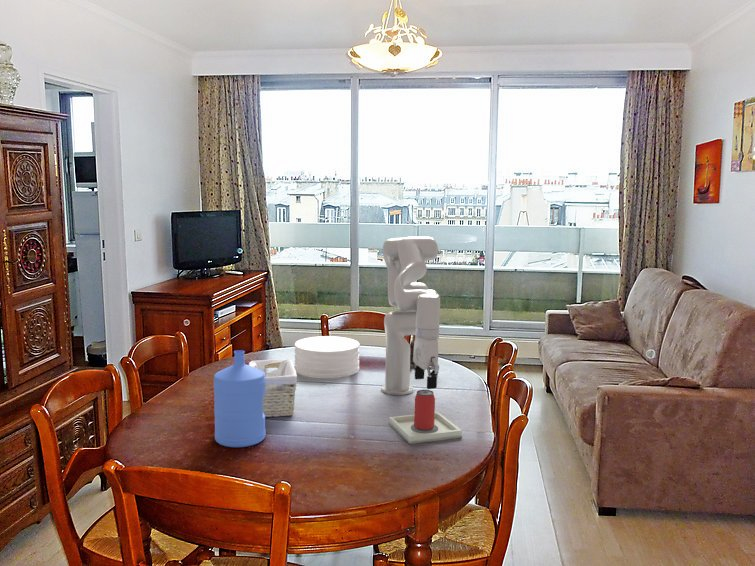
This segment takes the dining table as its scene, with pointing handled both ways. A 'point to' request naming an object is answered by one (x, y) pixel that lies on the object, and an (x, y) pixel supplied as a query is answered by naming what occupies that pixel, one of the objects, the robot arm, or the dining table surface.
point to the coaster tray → (413, 435)
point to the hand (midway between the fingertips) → (425, 383)
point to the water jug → (239, 404)
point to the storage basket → (278, 386)
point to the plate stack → (327, 356)
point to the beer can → (424, 410)
